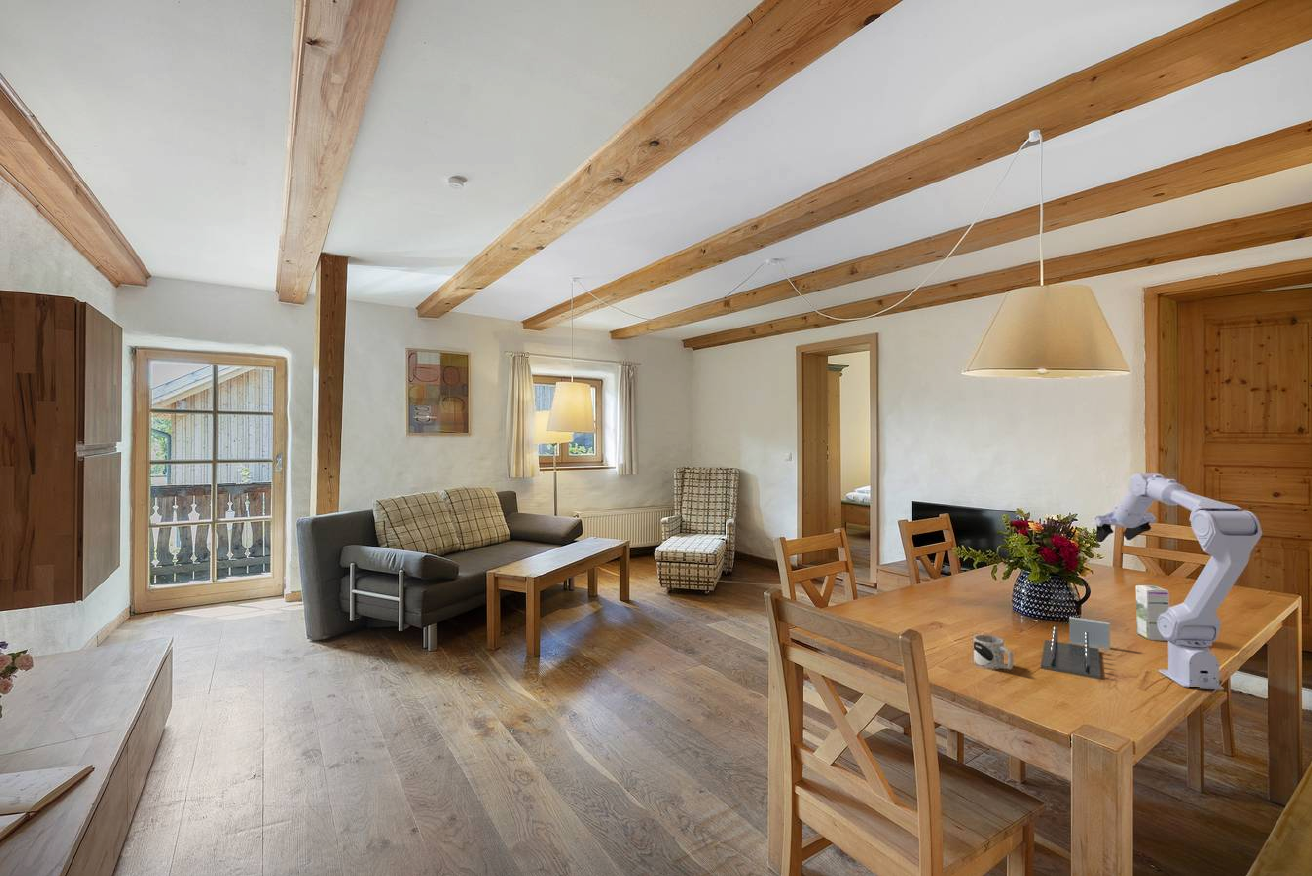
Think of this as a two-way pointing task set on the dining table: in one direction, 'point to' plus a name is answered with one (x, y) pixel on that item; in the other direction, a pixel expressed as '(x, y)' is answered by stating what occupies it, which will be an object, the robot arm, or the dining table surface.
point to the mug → (991, 652)
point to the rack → (1071, 657)
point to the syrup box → (1150, 610)
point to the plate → (1096, 629)
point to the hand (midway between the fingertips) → (1112, 538)
